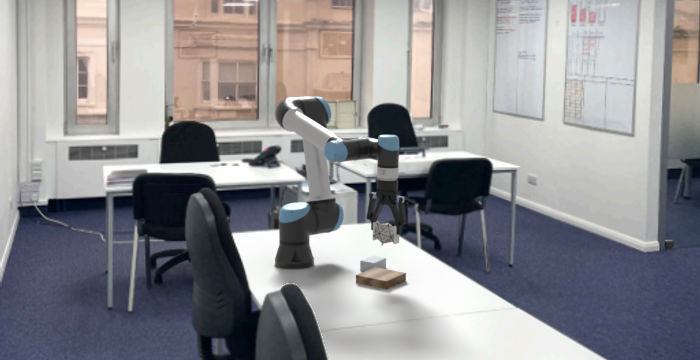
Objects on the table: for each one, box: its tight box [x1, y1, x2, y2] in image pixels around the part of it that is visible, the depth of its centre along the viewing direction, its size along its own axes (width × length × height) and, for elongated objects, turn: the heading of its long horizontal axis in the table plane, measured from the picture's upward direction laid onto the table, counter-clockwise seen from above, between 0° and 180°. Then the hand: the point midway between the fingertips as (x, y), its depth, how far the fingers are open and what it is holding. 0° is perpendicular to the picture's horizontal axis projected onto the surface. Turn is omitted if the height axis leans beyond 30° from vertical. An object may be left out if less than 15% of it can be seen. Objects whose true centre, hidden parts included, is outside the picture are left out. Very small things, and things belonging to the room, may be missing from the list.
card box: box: [359, 255, 387, 272], centre depth 310 cm, size 6×9×4 cm, turn 147°
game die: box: [372, 220, 394, 246], centre depth 291 cm, size 9×8×10 cm
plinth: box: [355, 267, 407, 291], centre depth 292 cm, size 13×13×3 cm
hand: (385, 241), depth 292 cm, fingers closed on game die, 8 cm apart
